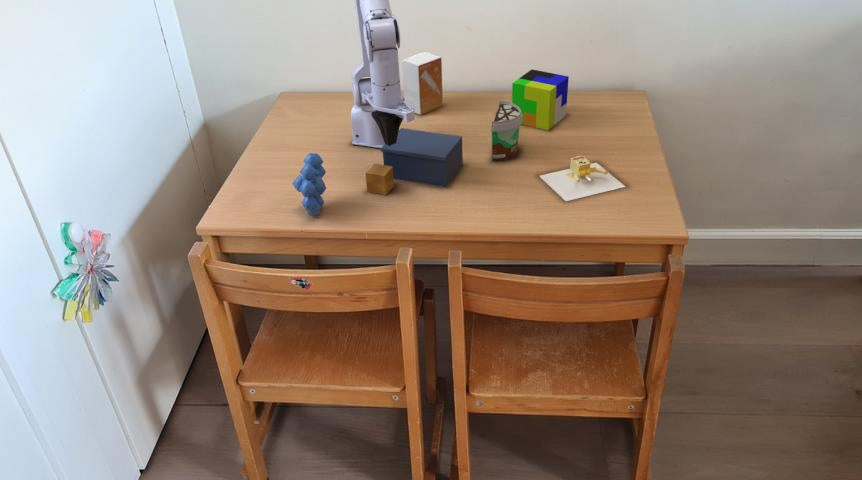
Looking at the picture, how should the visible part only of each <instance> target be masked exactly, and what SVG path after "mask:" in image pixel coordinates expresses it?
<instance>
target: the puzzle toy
mask: <svg viewBox="0 0 862 480" xmlns="http://www.w3.org/2000/svg"><path fill="white" fill-rule="evenodd" d="M511 84H512V86H511V87H512V88H511V103H513V104H515V105H517V106H518V107H519V108H520V110H521V112H522V116H523V122H522V123H521V125H524V126H526V127H527V126H528V127H532V128H536V129H541V130H545V131H550V129H552V128H553V127H554V126H556V124H558V123H559V122H560V121H562V119H563V118H564V117H566V116H567V107H568V93H569V76H568V75H563V74H558V73H555V72H554V73H553V72H548V71H543V70H538V69H530V70H528V71H526V73H524V74H523V75H521V76H520V77H519V78H518V79H516V80H514V81H513V82H512V83H511Z"/></svg>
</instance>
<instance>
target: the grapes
mask: <svg viewBox="0 0 862 480" xmlns="http://www.w3.org/2000/svg"><path fill="white" fill-rule="evenodd" d="M303 164H304V165H303V167H302V168H301V170H300V171H299V173H300V174H299V175H298V176H296V177H295V179H294V180H293V181H292V183H291V184H292V185H293V187H294V189H295V190H296V191H297V192H299V193H301V194H302V196H303V199H302V200H301V205H302V207H303V209H305V210H306V212H307V214H308V215H309V216H311V217H315V216H316V215H318V213H319V212H320V211H321V209H322V207H323V205H324V204H325V200H324V198H323V197H322V195H323V194H324V193H325V191H326V190H327V186H326V182H324V179H323V177H324V176H325V175H326V173H327V171H326V169H325V168H324V167H323V164H324V160H323V158H322V157H321V156H320V155H319V153H315V152H314V153H313V152H310V153H308V154H307V155H306V156H305V158H304V159H303Z"/></svg>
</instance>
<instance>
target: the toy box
mask: <svg viewBox="0 0 862 480" xmlns="http://www.w3.org/2000/svg"><path fill="white" fill-rule="evenodd" d="M463 155H464V153H463V140H462V141H461V142H460V143H459V144H458V145H457V147H456V148H455V149H454V150H453V151H452V153H451V154H450V155H449V156H448V157H447V159H446V160H445V161H443V160H436V159H429V158H423V157H416V156H409V155H402V154H396V153H389V152H382V159H383V165H386V166H393V175H394V180H401V181H408V182H414V183H419V184H426V185H434V186H439V187H445V188H448V187H449V185H450V184H451V182H452V181H453V180H454V178H455V177H456V176H457V174H458V172H459V171H460V170H461V169H462V167H463V166H464V159H463V158H464V157H463Z"/></svg>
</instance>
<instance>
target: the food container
mask: <svg viewBox="0 0 862 480" xmlns="http://www.w3.org/2000/svg"><path fill="white" fill-rule="evenodd" d="M522 122H523V116H522V112H521V110H520V108H519V107H518V106H517V105H515V104H513V103H512V102H510V101H505V100H499V101H498V107H497V110H496V112H495V116H494V120H493V121H491V128H490V129H491V130H490V131H491V162H501V161H502V162H504V161H507V160H510V159H513V158H514V157H515V156H516V155H517V153H518V143H519V134H520V126H521V125H522V124H521V123H522Z"/></svg>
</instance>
